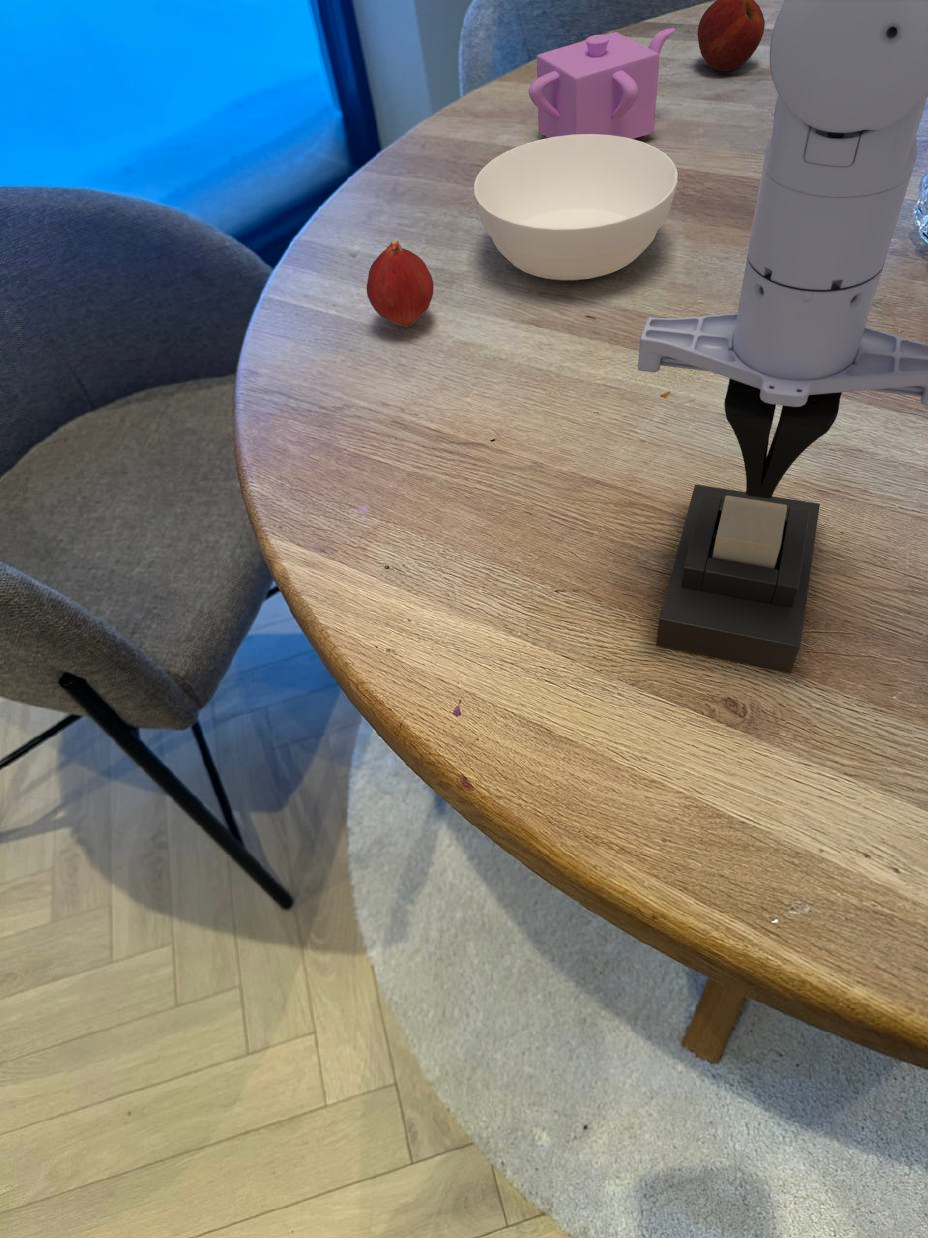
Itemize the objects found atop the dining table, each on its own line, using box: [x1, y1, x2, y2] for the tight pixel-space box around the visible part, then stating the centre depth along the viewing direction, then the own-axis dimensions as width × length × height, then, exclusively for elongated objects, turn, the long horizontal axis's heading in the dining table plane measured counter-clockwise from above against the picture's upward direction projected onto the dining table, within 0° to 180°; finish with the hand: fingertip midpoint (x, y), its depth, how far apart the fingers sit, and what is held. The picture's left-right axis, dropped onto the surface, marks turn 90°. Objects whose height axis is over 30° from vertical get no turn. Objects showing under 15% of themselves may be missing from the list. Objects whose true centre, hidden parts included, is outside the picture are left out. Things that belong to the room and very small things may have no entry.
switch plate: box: [655, 484, 821, 674], centre depth 53 cm, size 12×8×4 cm, turn 161°
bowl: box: [473, 134, 679, 281], centre depth 79 cm, size 18×18×7 cm
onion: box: [366, 240, 435, 328], centre depth 74 cm, size 6×6×8 cm
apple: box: [696, 0, 766, 72], centre depth 103 cm, size 7×8×8 cm
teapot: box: [527, 27, 676, 140], centre depth 93 cm, size 18×14×10 cm
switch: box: [712, 496, 787, 569], centre depth 51 cm, size 4×4×2 cm
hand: (760, 485), depth 48 cm, fingers closed
